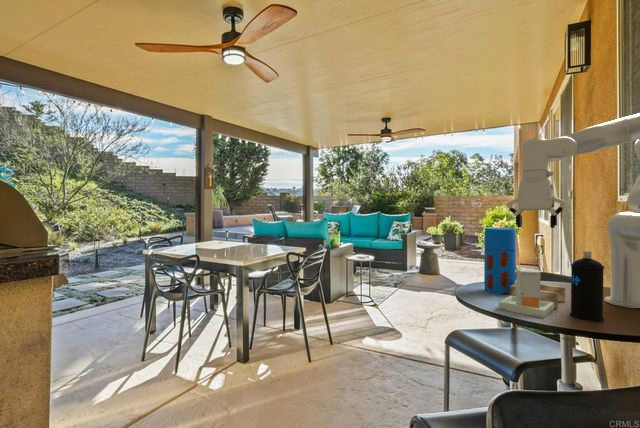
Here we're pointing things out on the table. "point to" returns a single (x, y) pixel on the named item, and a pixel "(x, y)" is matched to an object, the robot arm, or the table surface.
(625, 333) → the table surface
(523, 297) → the skincare box
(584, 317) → the aerosol can
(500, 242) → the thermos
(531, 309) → the tray
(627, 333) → the table surface
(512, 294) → the bay
